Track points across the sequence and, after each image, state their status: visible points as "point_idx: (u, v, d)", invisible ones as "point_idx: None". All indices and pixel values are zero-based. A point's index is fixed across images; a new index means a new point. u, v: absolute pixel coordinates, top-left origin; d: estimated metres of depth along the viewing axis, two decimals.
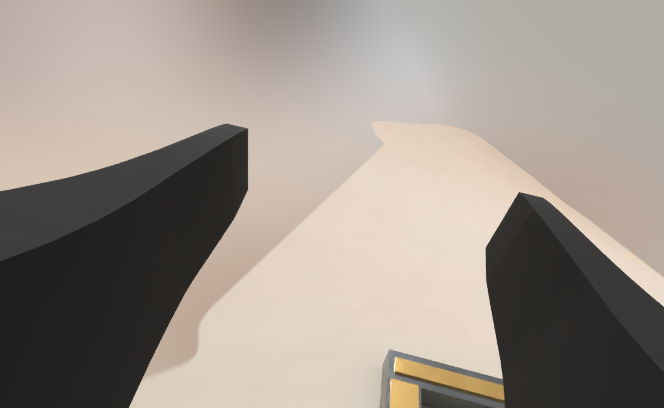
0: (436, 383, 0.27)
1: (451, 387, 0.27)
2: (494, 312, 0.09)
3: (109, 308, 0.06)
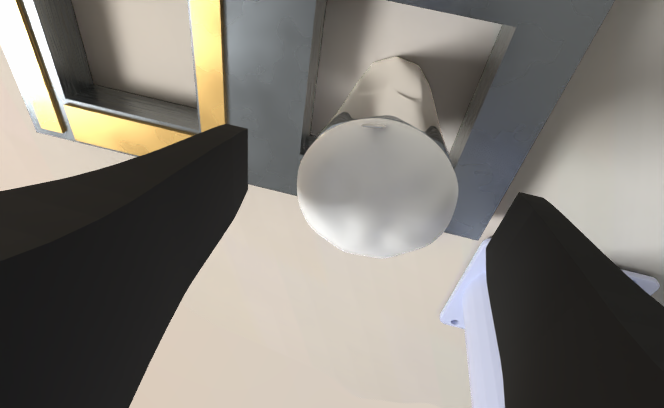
0: (43, 73, 0.17)
1: (35, 47, 0.17)
2: (494, 312, 0.09)
3: (109, 308, 0.06)
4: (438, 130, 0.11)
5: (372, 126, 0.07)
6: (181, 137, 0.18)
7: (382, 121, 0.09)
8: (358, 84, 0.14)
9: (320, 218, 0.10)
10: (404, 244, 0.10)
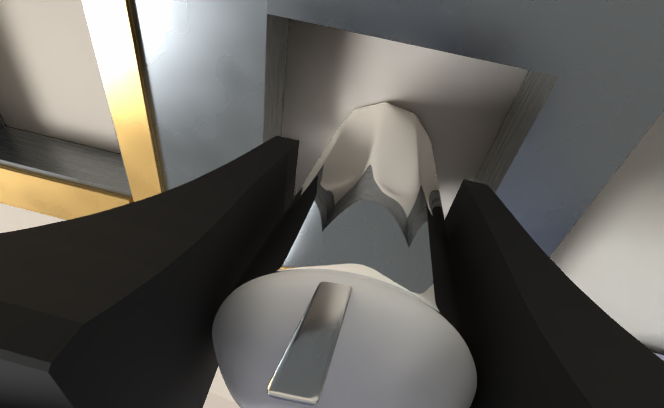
0: None
1: None
2: None
3: (192, 331, 0.06)
4: (442, 257, 0.07)
5: (290, 397, 0.03)
6: (108, 200, 0.14)
7: (341, 281, 0.05)
8: (330, 148, 0.10)
9: None
10: None
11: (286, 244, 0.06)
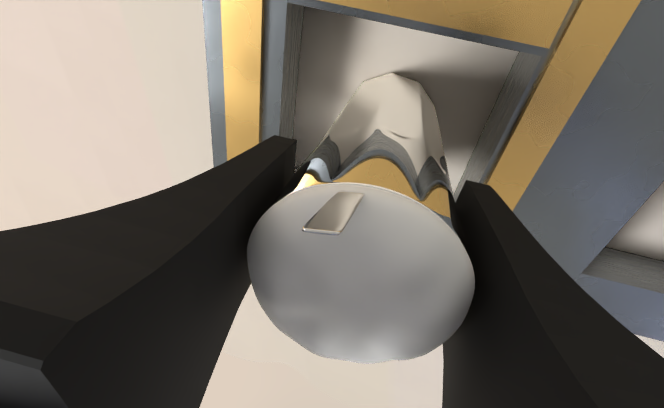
0: None
1: None
2: None
3: (188, 330, 0.06)
4: (444, 185, 0.08)
5: (320, 231, 0.04)
6: None
7: (356, 189, 0.06)
8: None
9: (279, 316, 0.07)
10: (398, 357, 0.07)
11: (308, 173, 0.07)
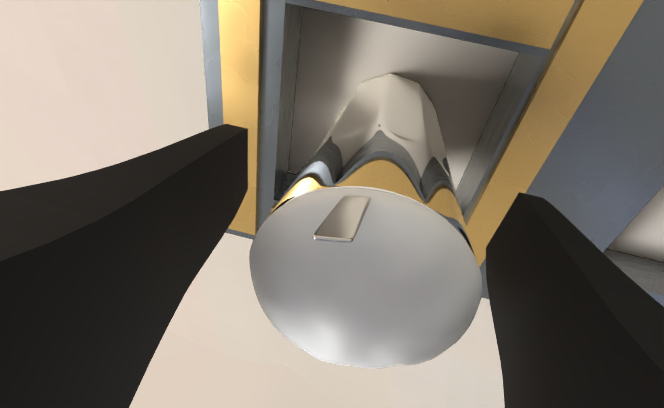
0: (257, 173, 0.14)
1: (258, 145, 0.13)
2: (494, 312, 0.09)
3: (109, 308, 0.06)
4: (448, 187, 0.07)
5: (331, 239, 0.04)
6: None
7: (362, 193, 0.06)
8: (342, 114, 0.11)
9: (283, 323, 0.07)
10: (406, 362, 0.07)
11: (311, 177, 0.07)
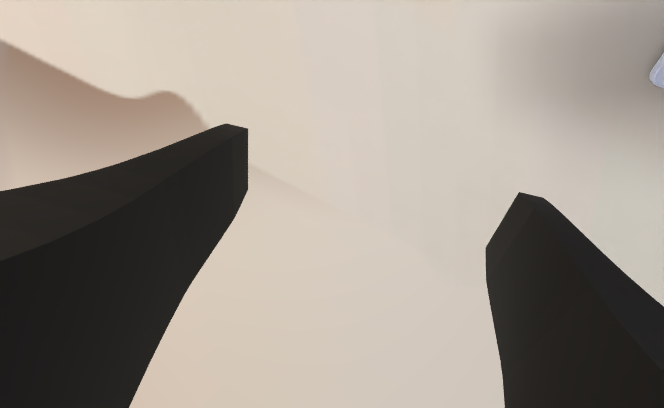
0: None
1: None
2: (494, 312, 0.09)
3: (109, 308, 0.06)
4: None
5: None
6: None
7: None
8: None
9: None
10: None
11: None
